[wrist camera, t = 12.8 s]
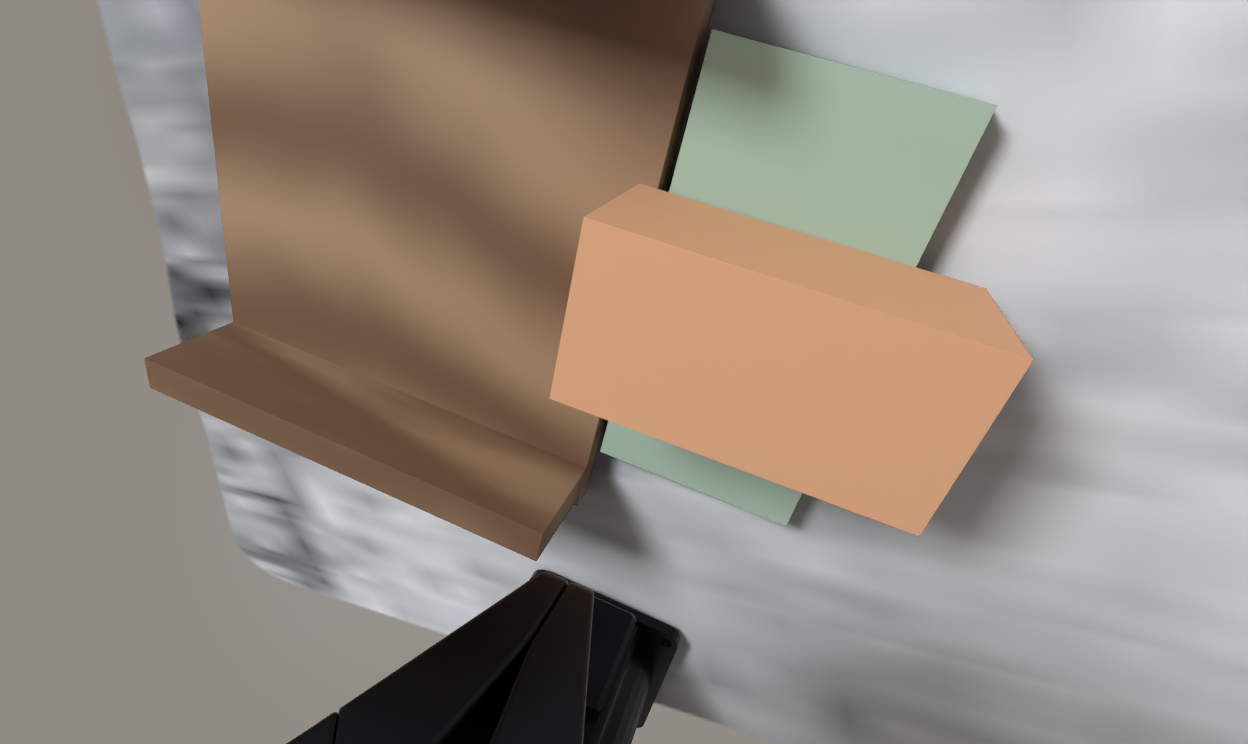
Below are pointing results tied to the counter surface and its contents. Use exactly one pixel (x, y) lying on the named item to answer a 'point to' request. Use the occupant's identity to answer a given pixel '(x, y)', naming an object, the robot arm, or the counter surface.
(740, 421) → the peach rectangular block
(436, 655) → the robot arm
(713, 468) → the pale green rectangular block
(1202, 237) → the counter surface
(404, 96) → the brown wooden tray
